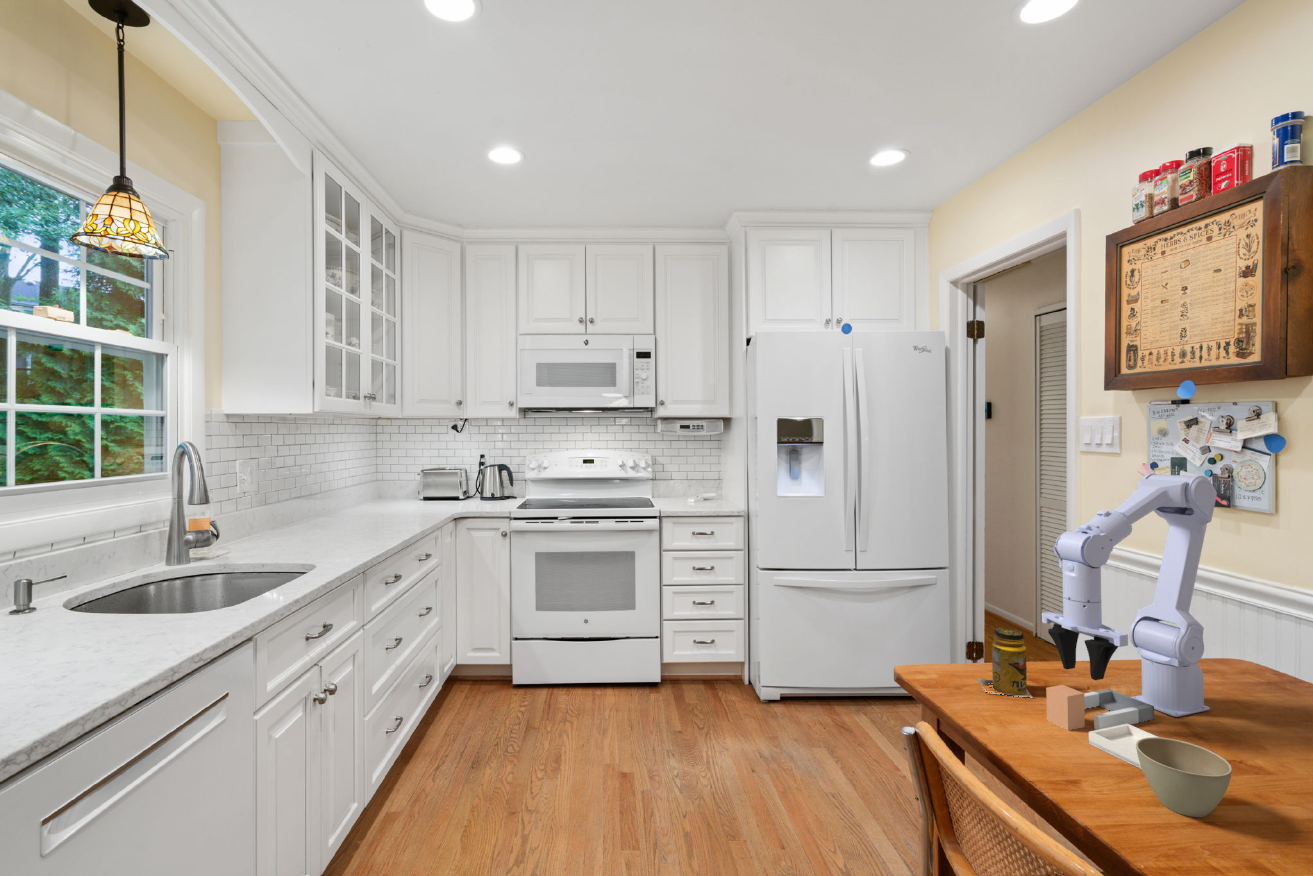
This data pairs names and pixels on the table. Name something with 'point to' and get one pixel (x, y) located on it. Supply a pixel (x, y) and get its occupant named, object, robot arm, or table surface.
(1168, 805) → the beige bowl
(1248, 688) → the table surface
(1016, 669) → the condiment
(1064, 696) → the block
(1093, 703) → the channel
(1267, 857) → the table surface
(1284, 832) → the table surface
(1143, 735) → the tray
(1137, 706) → the grey u-shaped piece
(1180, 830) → the table surface
